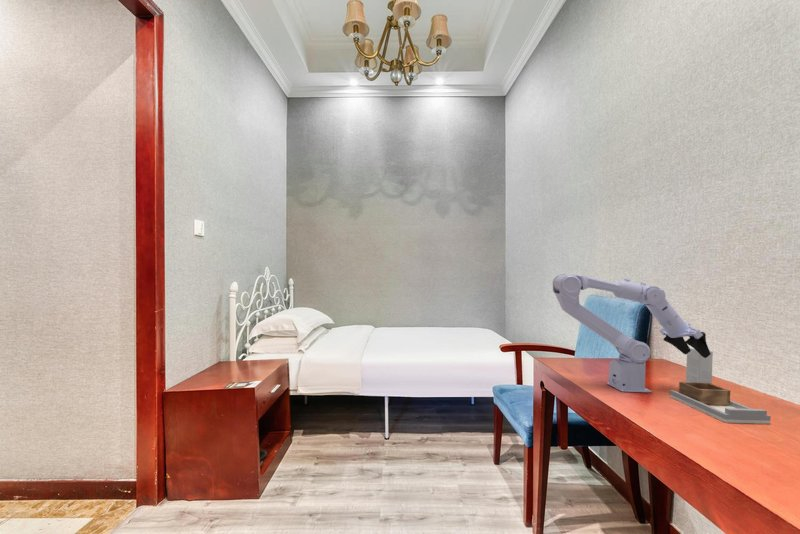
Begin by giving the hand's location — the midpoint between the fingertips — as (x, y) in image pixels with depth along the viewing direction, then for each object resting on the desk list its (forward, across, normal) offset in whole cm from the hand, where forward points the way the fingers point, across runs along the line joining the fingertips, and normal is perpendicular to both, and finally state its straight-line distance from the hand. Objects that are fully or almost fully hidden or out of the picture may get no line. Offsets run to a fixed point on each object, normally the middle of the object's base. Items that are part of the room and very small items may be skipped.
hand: (697, 354), depth 114 cm
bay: (+7, -12, +12) cm, 19 cm away
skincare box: (+14, +10, +1) cm, 18 cm away
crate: (+6, -8, +12) cm, 15 cm away
